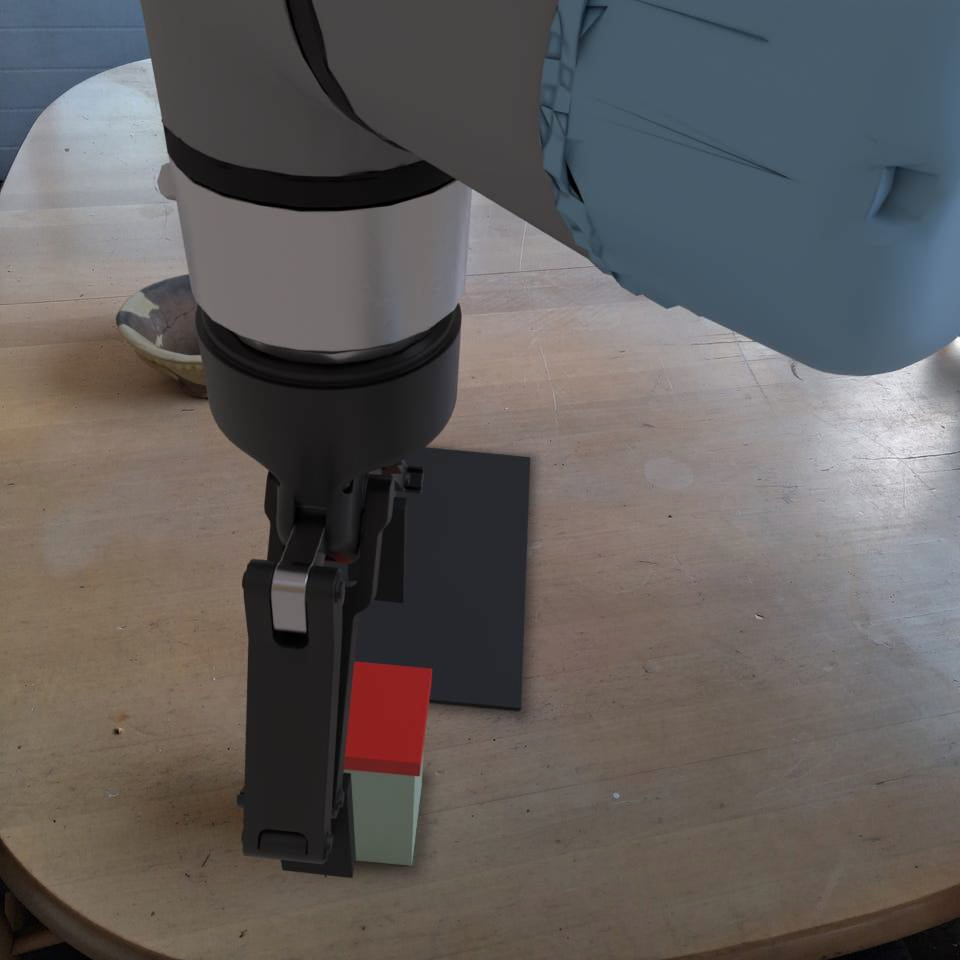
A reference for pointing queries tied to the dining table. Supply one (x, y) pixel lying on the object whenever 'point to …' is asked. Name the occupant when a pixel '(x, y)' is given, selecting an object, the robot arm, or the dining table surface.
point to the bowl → (166, 331)
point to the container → (386, 758)
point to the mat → (459, 580)
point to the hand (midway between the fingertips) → (352, 713)
